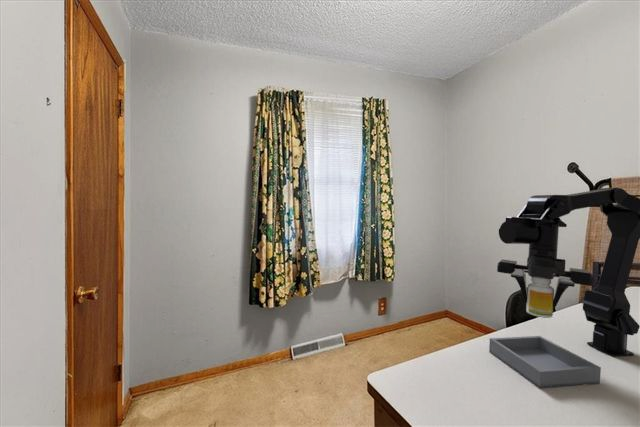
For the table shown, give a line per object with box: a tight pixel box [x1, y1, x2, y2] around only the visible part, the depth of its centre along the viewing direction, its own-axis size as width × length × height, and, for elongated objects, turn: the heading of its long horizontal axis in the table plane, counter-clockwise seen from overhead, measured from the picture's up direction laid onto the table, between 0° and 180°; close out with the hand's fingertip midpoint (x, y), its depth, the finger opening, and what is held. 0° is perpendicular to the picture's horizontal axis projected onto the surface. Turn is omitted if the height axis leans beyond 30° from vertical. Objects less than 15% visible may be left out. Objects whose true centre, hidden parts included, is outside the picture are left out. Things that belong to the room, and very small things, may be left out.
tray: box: [488, 335, 602, 389], centre depth 67 cm, size 15×15×4 cm
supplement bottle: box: [525, 276, 555, 319], centre depth 73 cm, size 5×5×10 cm
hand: (539, 304), depth 73 cm, fingers closed on supplement bottle, 5 cm apart
